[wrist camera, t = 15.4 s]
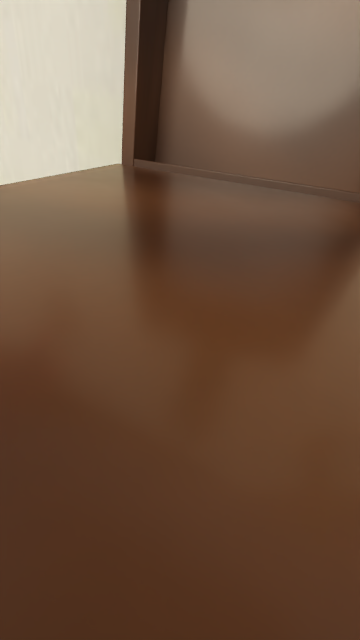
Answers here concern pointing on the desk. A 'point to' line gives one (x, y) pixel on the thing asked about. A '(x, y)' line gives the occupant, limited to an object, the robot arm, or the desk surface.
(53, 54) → the desk surface
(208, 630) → the lid
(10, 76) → the desk surface
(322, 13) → the chest
